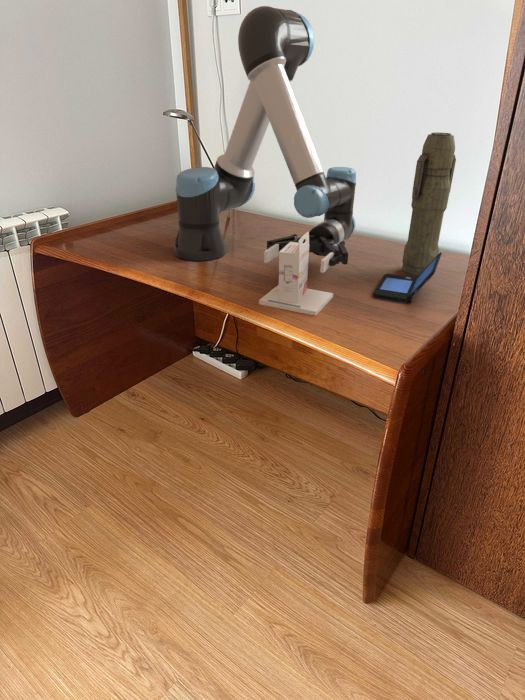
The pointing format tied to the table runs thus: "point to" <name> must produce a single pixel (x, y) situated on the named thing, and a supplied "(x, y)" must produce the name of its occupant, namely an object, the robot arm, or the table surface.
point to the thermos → (429, 201)
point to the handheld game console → (404, 284)
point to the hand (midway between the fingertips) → (293, 261)
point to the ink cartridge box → (293, 270)
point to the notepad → (307, 304)
